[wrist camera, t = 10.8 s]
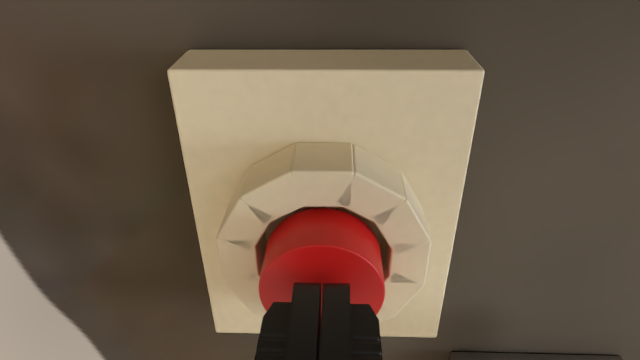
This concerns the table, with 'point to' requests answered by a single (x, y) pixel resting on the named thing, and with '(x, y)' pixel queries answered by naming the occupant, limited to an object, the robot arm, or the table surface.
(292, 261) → the button
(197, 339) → the table surface
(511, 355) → the base
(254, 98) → the button block
